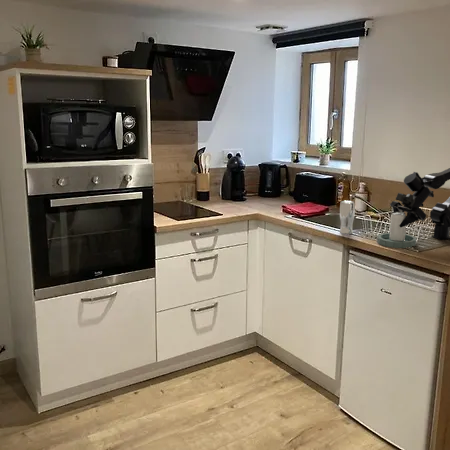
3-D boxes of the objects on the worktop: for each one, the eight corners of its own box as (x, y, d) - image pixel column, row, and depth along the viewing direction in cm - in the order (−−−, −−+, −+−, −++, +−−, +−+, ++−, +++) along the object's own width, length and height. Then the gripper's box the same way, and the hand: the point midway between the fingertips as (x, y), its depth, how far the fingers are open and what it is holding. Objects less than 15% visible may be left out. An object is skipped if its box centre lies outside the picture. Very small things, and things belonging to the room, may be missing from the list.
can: (395, 236, 227) (396, 210, 224) (407, 239, 222) (409, 213, 219) (386, 239, 223) (387, 213, 220) (399, 242, 218) (400, 215, 215)
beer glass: (340, 230, 246) (341, 200, 242) (354, 231, 243) (356, 201, 240) (337, 233, 240) (338, 202, 236) (352, 234, 237) (354, 203, 234)
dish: (397, 236, 233) (397, 231, 233) (424, 245, 219) (424, 239, 218) (369, 240, 227) (370, 235, 226) (396, 249, 212) (396, 244, 212)
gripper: (394, 183, 227) (372, 209, 226) (422, 189, 209) (398, 217, 209) (408, 199, 231) (386, 224, 230) (436, 206, 213) (413, 234, 213)
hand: (395, 224), depth 220 cm, fingers open, 6 cm apart
